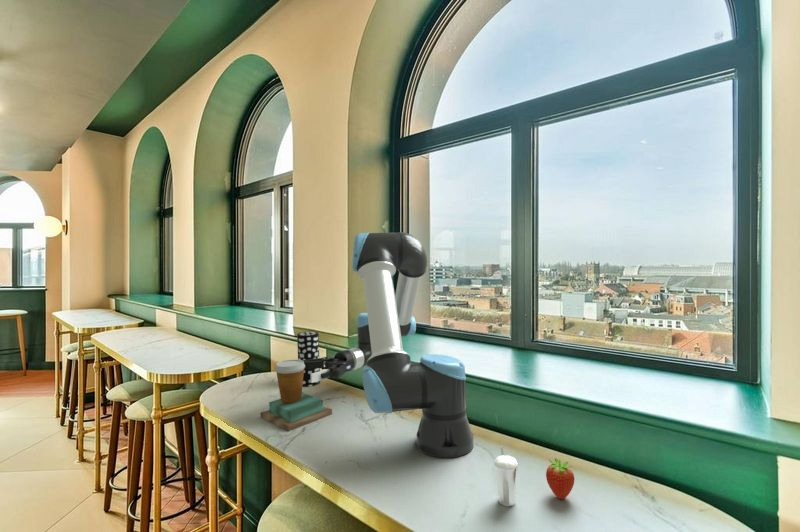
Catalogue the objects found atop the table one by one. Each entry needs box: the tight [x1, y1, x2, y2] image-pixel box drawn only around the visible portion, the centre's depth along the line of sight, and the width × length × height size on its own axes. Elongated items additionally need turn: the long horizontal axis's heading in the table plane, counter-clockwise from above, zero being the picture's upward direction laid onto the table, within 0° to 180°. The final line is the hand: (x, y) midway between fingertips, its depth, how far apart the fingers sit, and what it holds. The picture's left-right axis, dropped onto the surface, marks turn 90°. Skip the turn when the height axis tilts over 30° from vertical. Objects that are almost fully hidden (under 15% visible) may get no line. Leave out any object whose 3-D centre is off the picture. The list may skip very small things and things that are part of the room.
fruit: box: [545, 457, 575, 500], centre depth 83 cm, size 5×5×8 cm
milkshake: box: [494, 445, 519, 507], centre depth 83 cm, size 4×5×10 cm
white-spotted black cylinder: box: [296, 331, 321, 388], centre depth 162 cm, size 8×8×20 cm
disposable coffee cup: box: [274, 359, 305, 403], centre depth 130 cm, size 10×10×12 cm
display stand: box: [260, 392, 333, 432], centre depth 130 cm, size 16×16×5 cm
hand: (298, 374), depth 130 cm, fingers open, 13 cm apart
